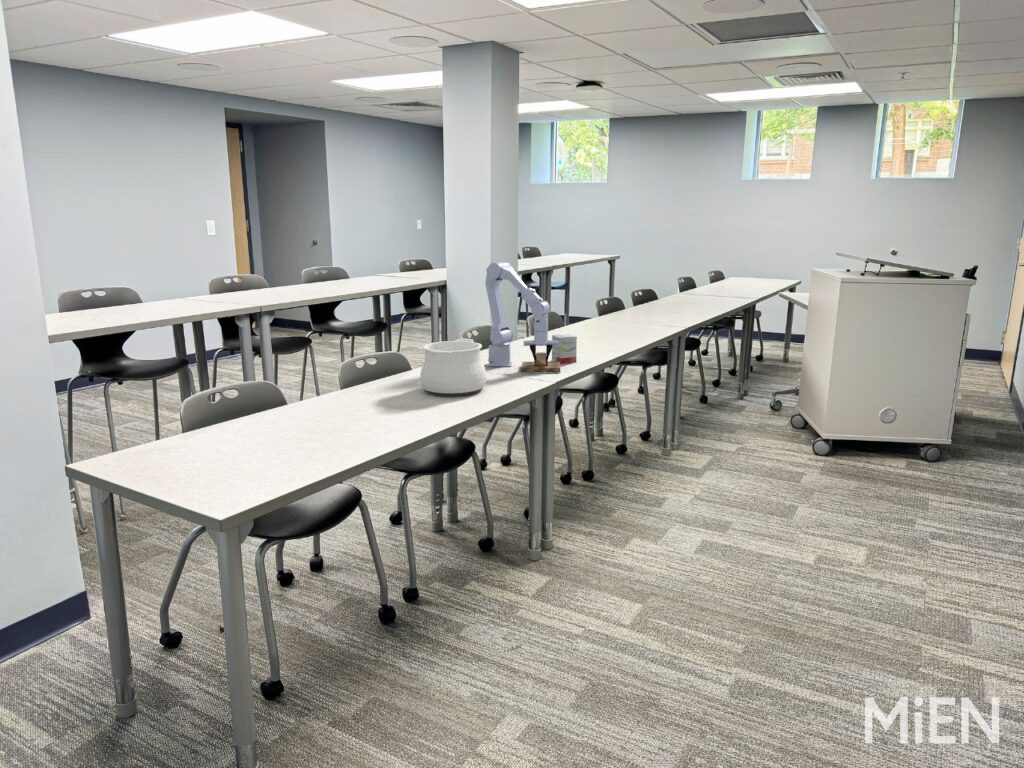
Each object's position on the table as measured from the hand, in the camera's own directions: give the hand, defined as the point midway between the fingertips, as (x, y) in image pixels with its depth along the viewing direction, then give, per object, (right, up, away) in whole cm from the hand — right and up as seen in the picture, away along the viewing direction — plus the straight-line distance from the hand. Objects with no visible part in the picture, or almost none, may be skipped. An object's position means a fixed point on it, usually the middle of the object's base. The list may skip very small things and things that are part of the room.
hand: (540, 362), depth 301 cm
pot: (-34, -12, -33) cm, 49 cm away
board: (0, -3, +1) cm, 3 cm away
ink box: (+11, +1, +17) cm, 20 cm away
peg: (0, -3, 0) cm, 3 cm away
